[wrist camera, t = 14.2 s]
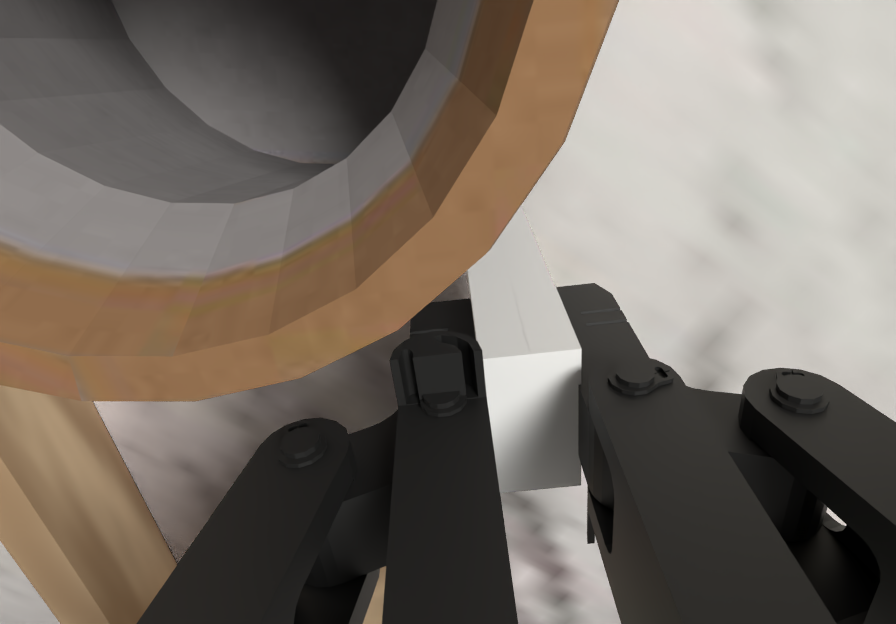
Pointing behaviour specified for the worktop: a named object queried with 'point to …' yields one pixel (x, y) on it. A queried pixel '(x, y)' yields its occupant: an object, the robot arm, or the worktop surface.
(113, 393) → the coffee pot
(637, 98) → the worktop surface
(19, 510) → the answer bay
